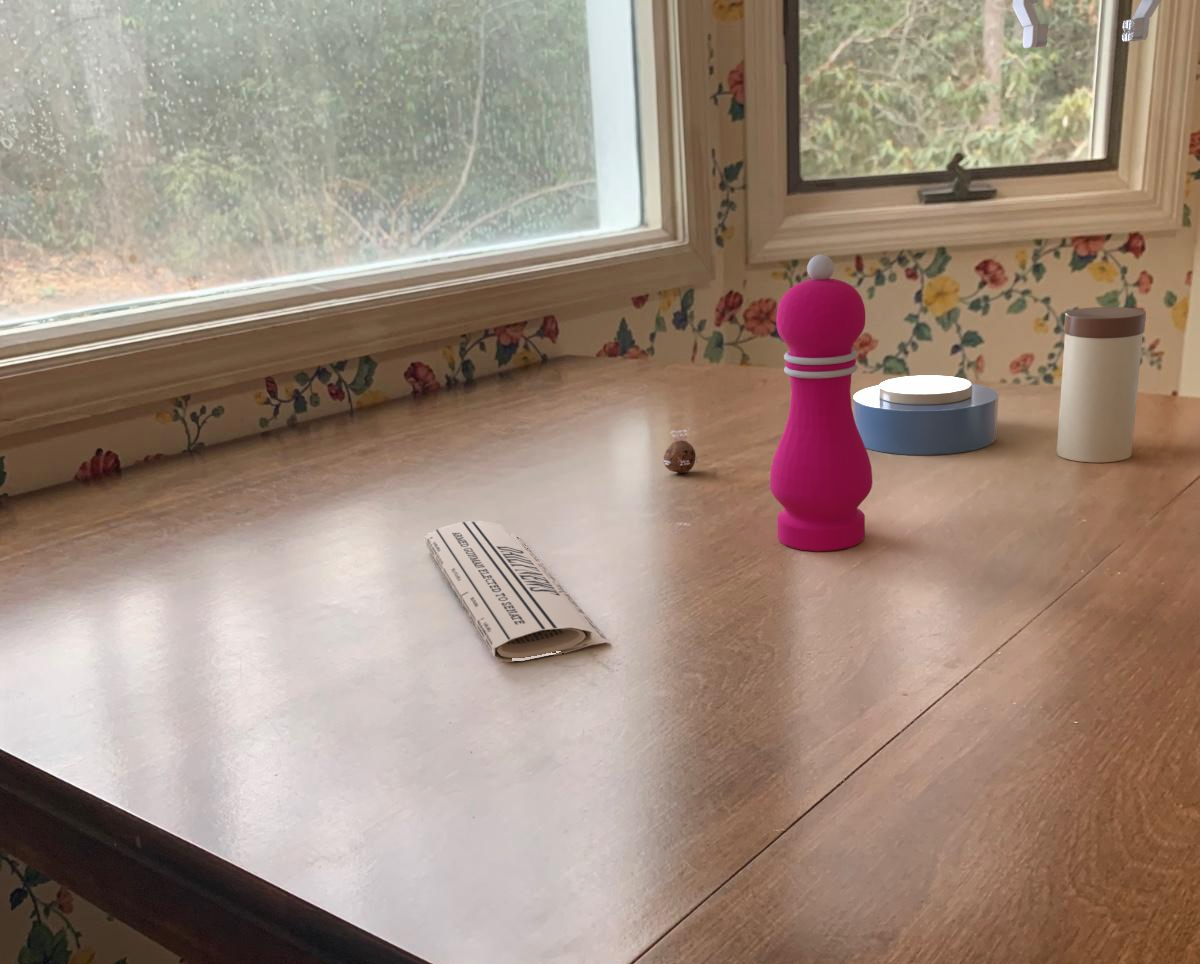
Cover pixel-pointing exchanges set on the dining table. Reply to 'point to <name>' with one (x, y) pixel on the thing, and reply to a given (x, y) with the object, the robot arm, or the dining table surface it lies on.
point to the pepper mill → (821, 416)
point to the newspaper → (509, 592)
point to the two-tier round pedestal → (926, 415)
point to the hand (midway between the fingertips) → (1085, 44)
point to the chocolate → (680, 455)
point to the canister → (1099, 383)
